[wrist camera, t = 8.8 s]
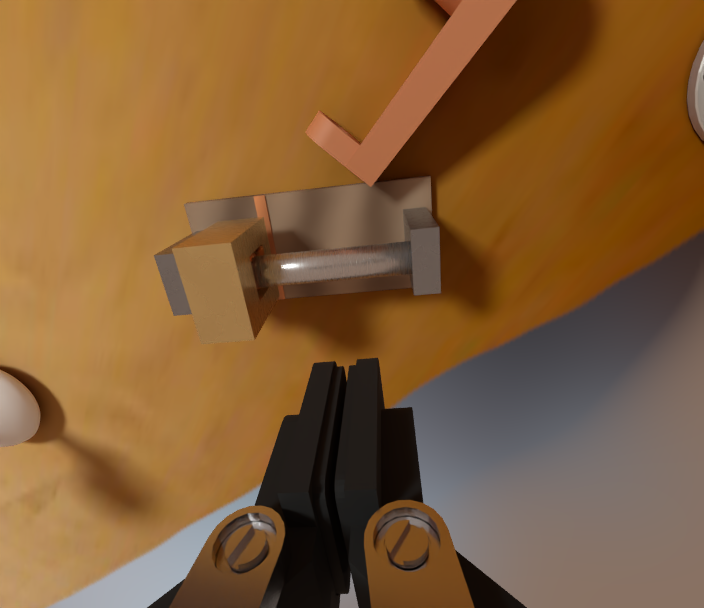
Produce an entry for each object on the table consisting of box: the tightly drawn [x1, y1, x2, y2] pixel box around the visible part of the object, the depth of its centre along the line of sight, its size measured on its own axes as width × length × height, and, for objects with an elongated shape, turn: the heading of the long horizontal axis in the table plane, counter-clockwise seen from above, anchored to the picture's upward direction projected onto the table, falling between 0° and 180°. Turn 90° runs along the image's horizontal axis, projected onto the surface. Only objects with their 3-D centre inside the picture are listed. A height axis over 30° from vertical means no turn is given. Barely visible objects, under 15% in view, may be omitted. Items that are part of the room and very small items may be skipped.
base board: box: [184, 176, 432, 300], centre depth 36 cm, size 22×10×1 cm, turn 96°
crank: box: [306, 0, 517, 187], centre depth 26 cm, size 20×8×8 cm, turn 143°
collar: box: [172, 217, 280, 344], centre depth 30 cm, size 4×7×8 cm, turn 7°
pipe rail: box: [154, 207, 441, 316], centre depth 33 cm, size 21×5×8 cm, turn 96°
